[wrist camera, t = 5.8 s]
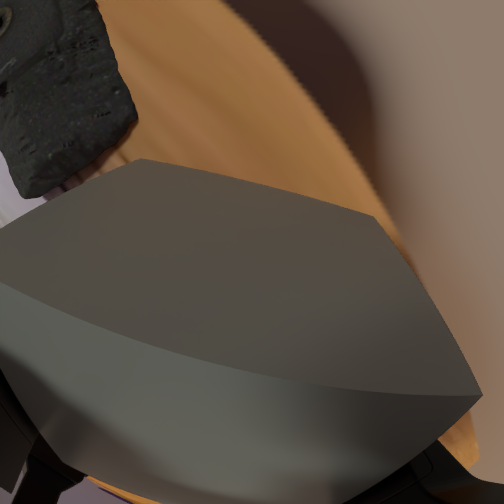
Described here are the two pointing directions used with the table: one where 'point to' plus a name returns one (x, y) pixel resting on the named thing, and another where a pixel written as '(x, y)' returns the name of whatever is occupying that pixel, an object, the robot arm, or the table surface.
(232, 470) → the grey angular block
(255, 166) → the table surface
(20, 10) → the dark slate chunk
